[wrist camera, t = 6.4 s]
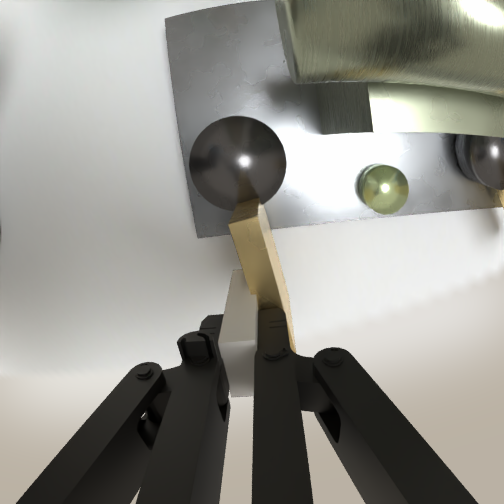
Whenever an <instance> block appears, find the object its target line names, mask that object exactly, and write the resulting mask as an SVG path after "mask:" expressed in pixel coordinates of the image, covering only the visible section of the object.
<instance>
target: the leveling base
mask: <svg viewBox="0 0 504 504" xmlns="http://www.w3.org/2000/svg"><path fill="white" fill-rule="evenodd" d="M165 27H166V37H167V46H168V55H169V63H170V71H171V79H172V87H173V94H174V102H175V109H176V116H177V123H178V129H179V136H180V142H181V148H182V154H183V160H184V166H185V172H186V178H187V184H188V189H189V195H190V200H191V206H192V211H193V216H194V222H195V227H196V232H197V237H198V238H205V237H213V236H221V235H229V234H231V232H230V229H229V226H228V224H229V221H230V219H231V217H232V214H233V212H234V211H229V210H224V209H221V208H219V207H216V206H214V205H213V204H211V203H209V202H208V201H207V200H206V199H204V197H203V196H202V195H201V194H200V193H199V192H198V190H197V189H196V187H195V185H194V184H193V181H192V178H191V175H190V169H189V158H190V152H191V149H192V146H193V144H194V142H195V140H196V138H197V137H198V135H199V134H200V133H201V132H202V131H203V130H204V129H205V128H206V127H207V126H208V125H210V124H211V123H213V122H215V121H217V120H219V119H222V118H225V117H229V116H246V117H251V118H254V119H257V120H259V121H261V122H263V123H264V124H266V125H267V126H269V127H270V128H271V129H272V130H273V131H274V132H275V133H276V134H277V136H278V137H279V139H280V140H281V142H282V144H283V147H284V150H285V154H286V161H287V166H286V174H285V177H284V180H283V183H282V185H281V187H280V188H279V190H278V191H277V193H276V194H275V195H274V196H273V197H272V198H271V199H270V200H269V201H268V202H266V203H265V204H264V207H265V211H266V214H267V218H268V221H269V225H270V228H271V229H279V228H288V227H296V226H305V225H314V224H324V223H333V222H342V221H352V220H362V219H372V218H382V217H392V216H403V215H413V214H424V213H436V212H447V211H459V210H471V209H484V208H497V207H503V205H502V203H501V200H500V198H499V195H498V193H497V190H496V189H494V188H491V187H488V186H485V185H482V184H479V183H476V182H473V181H472V180H470V179H469V178H468V177H467V176H466V175H465V174H464V173H463V171H462V169H461V167H460V165H459V162H458V159H457V155H456V136H457V134H468V135H481V136H492V137H501V138H504V0H260V1H251V2H243V3H236V4H230V5H224V6H218V7H212V8H207V9H202V10H198V11H193V12H189V13H185V14H181V15H177V16H173V17H169V18H166V19H165Z"/></svg>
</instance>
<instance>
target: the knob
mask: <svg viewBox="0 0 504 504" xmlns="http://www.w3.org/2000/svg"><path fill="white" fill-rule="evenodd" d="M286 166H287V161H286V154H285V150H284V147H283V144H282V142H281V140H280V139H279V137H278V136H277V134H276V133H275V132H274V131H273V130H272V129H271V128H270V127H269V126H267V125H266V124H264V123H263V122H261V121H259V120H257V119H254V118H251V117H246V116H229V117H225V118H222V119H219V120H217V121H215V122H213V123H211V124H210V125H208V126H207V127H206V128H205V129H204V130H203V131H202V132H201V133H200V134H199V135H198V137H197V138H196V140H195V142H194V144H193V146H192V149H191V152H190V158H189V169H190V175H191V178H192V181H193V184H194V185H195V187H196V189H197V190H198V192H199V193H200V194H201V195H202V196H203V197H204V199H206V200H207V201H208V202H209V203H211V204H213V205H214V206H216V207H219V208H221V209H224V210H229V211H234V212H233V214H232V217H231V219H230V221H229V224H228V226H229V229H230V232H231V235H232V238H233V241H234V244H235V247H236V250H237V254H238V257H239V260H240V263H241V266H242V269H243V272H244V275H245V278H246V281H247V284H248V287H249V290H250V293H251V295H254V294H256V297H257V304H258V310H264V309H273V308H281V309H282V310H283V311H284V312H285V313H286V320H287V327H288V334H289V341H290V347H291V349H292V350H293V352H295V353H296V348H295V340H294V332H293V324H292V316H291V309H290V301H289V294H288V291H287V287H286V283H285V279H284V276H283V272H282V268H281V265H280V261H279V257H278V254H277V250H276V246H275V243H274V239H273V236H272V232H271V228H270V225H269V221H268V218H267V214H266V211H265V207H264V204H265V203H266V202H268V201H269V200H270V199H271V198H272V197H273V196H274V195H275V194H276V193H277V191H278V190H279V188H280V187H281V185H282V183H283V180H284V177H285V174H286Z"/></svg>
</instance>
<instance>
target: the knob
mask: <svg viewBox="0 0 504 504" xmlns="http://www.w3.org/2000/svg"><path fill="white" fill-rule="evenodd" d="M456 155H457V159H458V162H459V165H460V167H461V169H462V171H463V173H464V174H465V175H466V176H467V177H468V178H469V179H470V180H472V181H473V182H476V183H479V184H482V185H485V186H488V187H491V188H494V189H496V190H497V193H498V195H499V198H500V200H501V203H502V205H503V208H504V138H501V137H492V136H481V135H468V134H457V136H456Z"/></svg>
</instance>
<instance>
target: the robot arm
mask: <svg viewBox="0 0 504 504" xmlns="http://www.w3.org/2000/svg"><path fill="white" fill-rule="evenodd" d="M177 345H178V348H179V351H180V354H181V357H182V363H181V365H180V366H177V367H174V368H170V369H166V370H162V368H161V367H160V365H159V364H157V363H154V362H145V363H141V364H139V365H137V366H135V367H134V368H132V369H131V370H130V371H129V372H128V374H127V375H126V376H125V377H124V378H123V379H122V380H121V382H120V383H119V384H118V385H117V386H116V387H115V388H114V389H113V391H112V392H111V393H110V394H109V395H108V396H107V398H106V399H105V400H104V401H103V402H102V403H101V404H100V406H99V407H98V408H97V409H96V410H95V411H94V412H93V414H92V415H91V416H90V417H89V418H88V419H87V420H86V422H85V423H84V424H83V425H82V426H81V427H80V429H79V430H78V431H77V432H76V433H75V434H74V436H73V437H72V438H71V439H70V440H69V441H68V443H67V444H66V445H65V446H64V447H63V448H62V449H61V451H60V452H59V453H58V454H57V455H56V457H55V458H54V459H53V460H52V461H51V462H50V464H49V465H48V466H47V467H46V468H45V469H44V471H43V472H42V473H41V474H40V475H39V477H38V478H37V479H36V480H35V481H34V483H33V484H32V485H31V486H30V487H29V488H28V490H27V491H26V492H25V493H24V495H23V496H22V497H21V498H20V499H19V500H18V502H17V503H16V504H130V503H131V501H132V500H133V498H134V497H135V495H136V494H137V492H138V490H139V489H140V491H139V494H138V498H137V501H136V504H219V501H220V492H221V483H222V475H223V474H222V473H223V465H224V458H225V449H226V440H227V432H228V424H229V415H230V402H229V398H228V395H229V390H230V394H231V397H247V396H254V413H253V414H254V415H253V464H252V468H253V469H252V504H313V496H312V488H311V480H310V472H309V464H308V458H307V449H306V442H305V435H304V427H303V420H302V413H301V410H302V411H310V412H314V413H315V416H316V418H317V420H318V422H319V423H320V425H321V427H322V429H323V430H324V432H325V434H326V436H327V438H328V439H329V441H330V443H331V445H332V446H333V448H334V450H335V452H336V454H337V455H338V457H339V459H340V460H341V462H342V464H343V466H344V467H345V469H346V471H347V473H348V474H349V476H350V478H351V479H352V481H353V483H354V485H355V486H356V488H357V490H358V491H359V493H360V495H361V497H362V498H363V500H364V502H365V503H366V504H478V503H477V502H476V501H475V499H474V498H473V497H472V495H471V494H470V493H469V492H468V491H467V489H465V487H464V486H463V485H462V483H461V482H460V481H459V480H458V479H457V478H456V476H455V475H454V474H453V473H452V472H451V470H450V469H449V468H448V467H447V466H446V465H445V463H444V462H443V461H442V460H441V459H440V457H439V456H438V455H437V454H436V453H435V451H434V450H433V449H432V448H431V447H430V446H429V444H428V443H427V442H426V441H425V440H424V439H423V437H422V436H421V435H420V434H419V433H418V432H417V430H416V429H415V428H414V427H413V426H412V424H410V422H409V421H408V420H407V419H406V417H405V416H404V415H403V414H402V413H401V412H400V411H399V409H398V408H397V407H396V406H395V405H394V403H393V402H392V401H391V400H390V399H389V398H388V396H387V395H386V394H385V393H384V392H383V391H382V390H381V388H380V387H379V386H378V385H377V384H376V382H375V381H374V380H373V379H372V378H371V377H370V375H369V374H368V373H367V372H366V371H365V370H364V369H363V367H362V366H361V365H360V364H359V363H358V362H357V360H356V359H355V358H354V357H353V356H352V355H351V354H350V353H349V352H348V351H347V350H345V349H341V348H335V347H331V348H326V349H323V350H321V351H319V352H318V353H317V354H316V355H315V356H314V358H312V357H303V356H300V355H297V354H296V353H295V352H293V350H292V349H291V347H290V341H289V334H288V327H287V320H286V313H285V312H284V311H283V310H282V309H281V308H273V309H264V310H258V304H257V297H256V294H254V295H251V293H250V290H249V287H248V284H247V281H246V278H245V275H244V272H243V269H239V270H233V273H232V278H231V282H230V287H229V292H228V297H227V302H226V306H225V311H224V314H220V315H208V316H207V317H206V318H205V319H204V320H203V321H202V322H201V326H200V330H199V331H195V332H190V333H187V334H185V335H183V336H182V337H180V338H179V340H178V341H177ZM144 413H145V415H144V416H143V417H142V415H143V414H144ZM141 417H142V418H141ZM140 487H141V488H140Z"/></svg>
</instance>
